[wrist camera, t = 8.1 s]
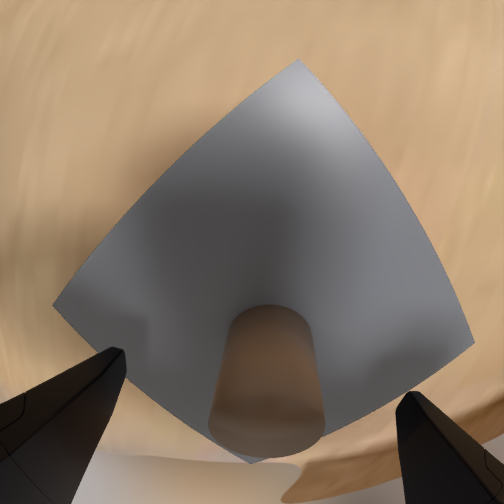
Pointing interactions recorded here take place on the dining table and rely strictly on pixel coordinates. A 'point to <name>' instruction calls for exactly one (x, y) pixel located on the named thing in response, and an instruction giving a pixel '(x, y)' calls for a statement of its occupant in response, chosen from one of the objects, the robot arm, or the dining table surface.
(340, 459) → the dining table surface
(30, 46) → the dining table surface
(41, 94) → the dining table surface
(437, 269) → the lid
